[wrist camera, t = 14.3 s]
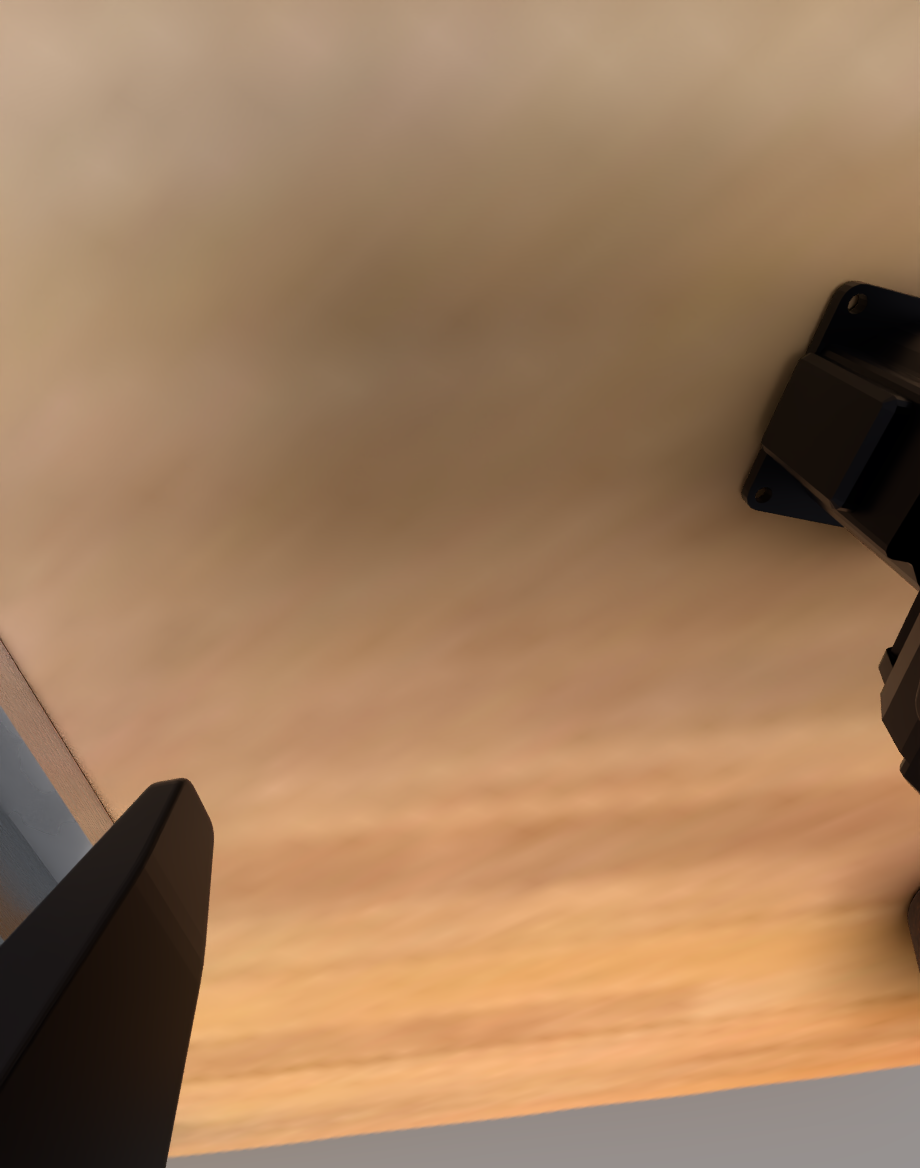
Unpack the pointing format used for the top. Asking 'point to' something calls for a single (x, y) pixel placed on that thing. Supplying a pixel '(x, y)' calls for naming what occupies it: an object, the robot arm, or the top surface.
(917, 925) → the plant pot
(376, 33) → the top surface
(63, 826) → the rail plate
